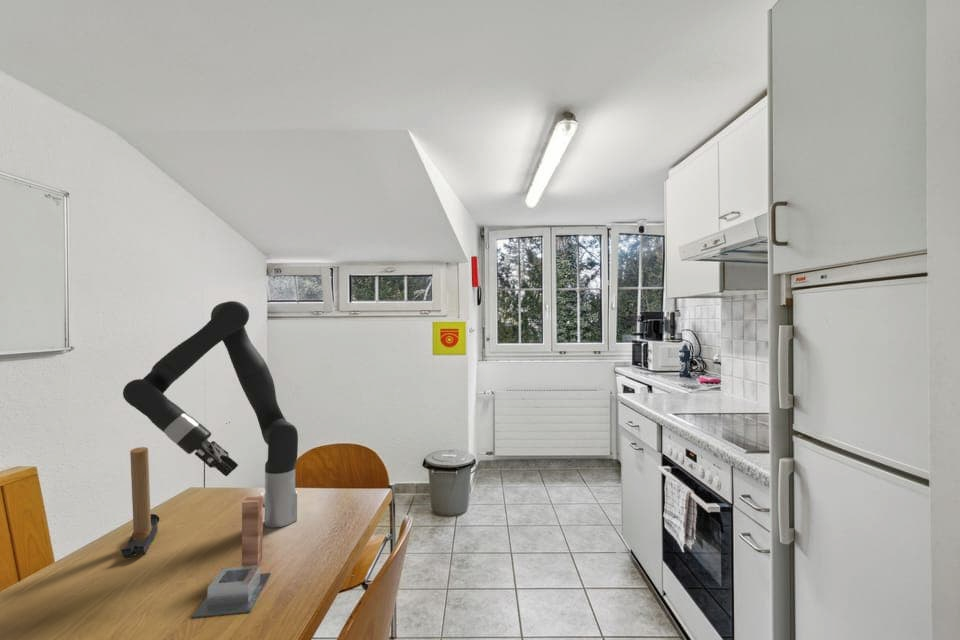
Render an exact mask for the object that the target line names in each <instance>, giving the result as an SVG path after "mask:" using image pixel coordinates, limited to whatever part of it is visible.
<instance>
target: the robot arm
mask: <svg viewBox="0 0 960 640" xmlns="http://www.w3.org/2000/svg"><path fill="white" fill-rule="evenodd" d="M249 312H250V311H249V309H248V307H247V306H246V305H245V304H243V303H242V302H239V301H235V300H231V301H230V300H229V301H226V302H221V303H219V304H217V305H215V306H214V307H213V308H212V310H211V313H210V320H209V321H208V322H207V323H206V324H205V325H204V326H203V327H201V328H200V329H199V330H198V331H197V332H196V333H194V334H193V335H191V336H190V337H188V338H187V339H185V340H183V342H181V343H179V344H178V345H176V346H175V347H174V348H172V349H171V350H170V351H169V352H168V353H166V354H165V355H164V356H163V357H162V358H160V359H159V360H158V361H157V362H155V364H154V365H153V366H152V368H151V370H150V372H149V373H148V374H146V375H145V376H144V377H143V378H142V379H141V378H138V379H133V380H131V381H129V382H128V383H126V385H125V386H124V388H123V391H122V396H123V399H124V400H125V402H127V404H129V405H130V406H131V407H133V408H135V409H136V410H137V411H139V412H140V413H141V414H142V415H144V416H146V417H147V418H148V420H150V421H151V423H152V424H154V426H156V427H157V428H158V429H159V430H160V431H162V432H163V433H164V434H165V436H167V438H168V439H169V440H171V441H172V442H173V443H174V444H175V445H177V446H178V447H179V448H181V450H183V451H184V453H186V454H187V455H191V454H193V453H194V455H195V456H197V458H199V459H200V460H201V461H202V462H203V463H204V464H205V465H207V466H208V467H209V468H213V469H216V470H217V471H219V472H220V473H221V474H222V475H224V476H225V477H227V476H229V475H230V474H231V473H232V472H233V471H234V470H236V469H237V467H239V464H238V463H237V462H236V461H235V460H234V459H232V458H231V457H230V455H229V451H227V450H225V449H224V448H223V447H222V446H220V444H218V443H217V442H216V441H213V440H212V441H211V442H210V441H209V438H210V437H211V436H212V432H211V431H210V430H208V429H207V428H206V426H204V425H203V424H202V423H200V422H199V421H198V420H196V419H195V418H194V417H193V416H191V415H190V414H188V413H187V412H186V411H184V410H183V409H182V408H181V407H180V406H179V405H177V404H176V403H174V402H173V401H171V400H170V399H169V398H168V397H167V396H166V395H165V394H164V393H165V392H166V391H167V390H168V389H169V388H170V387H171V385H172V384H174V382H175V381H177V380H178V379H180V377H182V376H183V375H184V374H185V373H186V372H187V371H188V370H189V369H191V367H193V366H194V365H196V363H197V362H198V361H200V360H201V358H203V357H204V356H205V355H206V354H207V353H208V352H209V351H211V349H213V348H214V347H215V346H216V345H218V344H219V343H221V342H223V344H224V346H225V349H226V350H227V352H228V356H229V359H230V361H231V364H232V366H233V370H234V372H235V374H236V377H237V378H238V381H239V385H240V386H241V388H242V391H243V392H244V394H245V397H246V399H247V400H248V402H249V404H250V406H251V408H252V409H253V411H254V413H255V416H256V418H257V421H258V424H259V428H260V431H261V436H262V438H263V441H264V443H266V445H267V461H265V464H264V491H265V505H264V517H263V518H264V526H265V527H267V528H281V527H286V526H288V525H291V524H292V523H294V522H297V521H298V491H297V490H296V462H297V459H298V449H299V447H298V445H299V433H298V430H297V427H296V426H295V425H293V424H292V423H291V422H289V421H287V419H286V417H285V416H284V414H283V413H282V409H280V405H279V403H278V401H277V394H276V387H275V382H274V379H273V377H272V373H271V372H270V368H269V366H268V365H267V363H266V361H265V359H264V358H263V357H262V355H261V353H259V350H257V348H256V347H255V346H254V344H253V343H252V342H251V340H250V338H249V336H248V333H247V330H246V328H245V326H246V325H247V323H248V321H249V320H250V319H249V318H250V313H249Z"/></svg>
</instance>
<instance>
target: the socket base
mask: <svg viewBox="0 0 960 640" xmlns="http://www.w3.org/2000/svg"><path fill="white" fill-rule="evenodd" d="M270 575H272V572H267V573H261V566H260V565H254V566H242V565H241V566H233V567H231V566H229V567H222V568H221V569H220V570H219V572H218V573H217V575H216V576H215V578H213V580H212V581H211V583H210V584H209V585H208V586H207V592H206V593H207V594H206V597H205V599H204V600H203V601H202V603H201V604H200V605H199V606H198V608H197V609H196V610H195V612H194V613H193V614H192V619H195V618H205V617H207V618H208V617H215V616H217V617H219V616H226V615H227V616H228V615H237V614H245V613H249V614H250V613H252V611H253V608H254V607H255V605H256V603H257V601H259V598H260V596H261V595H262V592H263V590H264V589H265V587H266V585H267V583H268V581H269V580H270V577H271V576H270Z"/></svg>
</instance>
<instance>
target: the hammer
mask: <svg viewBox="0 0 960 640" xmlns="http://www.w3.org/2000/svg"><path fill="white" fill-rule="evenodd" d="M129 453H130V455H129V456H130V458H129V459H130V475H131V476H130V477H131V501H132V502H131V503H132V523H133V524H132V526H133V528H132V529H133V532H132V533H131V537H130V538H129V540H128V542H127V544H126V547H125V549H124V548H123V549H121V550H120V551H121V554H122V557H124V558H128V557H134V556H139V555H140V554H141V555H146V554H147V553H148V551H149V549H150V547H151V546H152V544H153V542H154V540H155V538H156V536H157V533H158V532H159V531H158V523H159V522H160V516H159V515H157V514H155V513H151V494H150V467H149V466H150V464H149V463H150V462H149V448H148V447H146V446H145V447H144V446H141V447H135V448H133V449H131V450H130V451H129ZM152 541H153V542H152ZM151 543H152V544H151ZM150 545H151V546H150ZM149 546H150V547H149ZM148 548H149V549H148ZM147 550H148V551H147ZM146 552H147V553H146ZM134 554H135V555H134Z"/></svg>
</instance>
